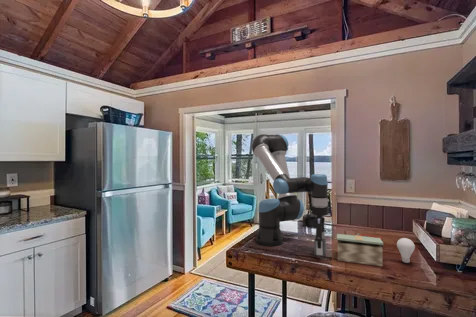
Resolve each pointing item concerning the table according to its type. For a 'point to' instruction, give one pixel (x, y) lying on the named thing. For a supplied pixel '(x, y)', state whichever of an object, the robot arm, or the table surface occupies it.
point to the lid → (359, 239)
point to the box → (360, 252)
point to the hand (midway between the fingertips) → (320, 249)
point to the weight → (323, 248)
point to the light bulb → (405, 249)
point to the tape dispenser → (371, 236)
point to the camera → (309, 220)
